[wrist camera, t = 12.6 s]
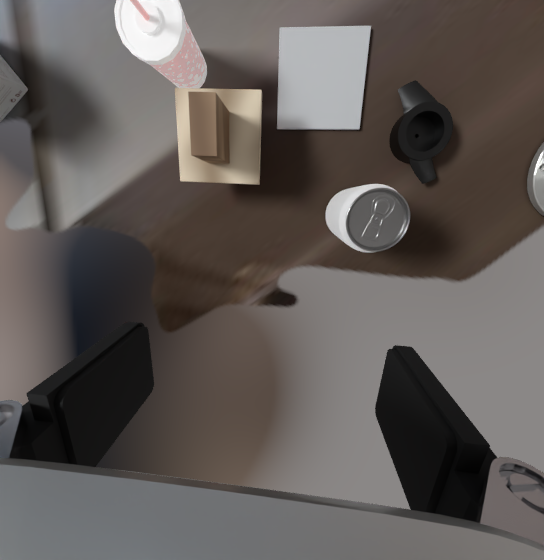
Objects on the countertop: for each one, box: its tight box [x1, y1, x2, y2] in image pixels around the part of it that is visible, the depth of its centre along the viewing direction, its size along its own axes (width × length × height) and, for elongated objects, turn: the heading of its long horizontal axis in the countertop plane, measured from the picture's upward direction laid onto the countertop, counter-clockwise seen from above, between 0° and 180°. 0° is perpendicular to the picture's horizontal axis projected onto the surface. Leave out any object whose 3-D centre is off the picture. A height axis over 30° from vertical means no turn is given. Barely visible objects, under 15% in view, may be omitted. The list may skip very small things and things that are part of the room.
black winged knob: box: [390, 81, 453, 184], centre depth 30 cm, size 8×10×3 cm
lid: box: [175, 88, 262, 185], centre depth 25 cm, size 9×9×6 cm
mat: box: [277, 26, 371, 130], centre depth 30 cm, size 10×10×1 cm
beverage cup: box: [114, 0, 207, 88], centre depth 24 cm, size 6×6×14 cm
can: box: [326, 184, 410, 252], centre depth 29 cm, size 6×6×12 cm
